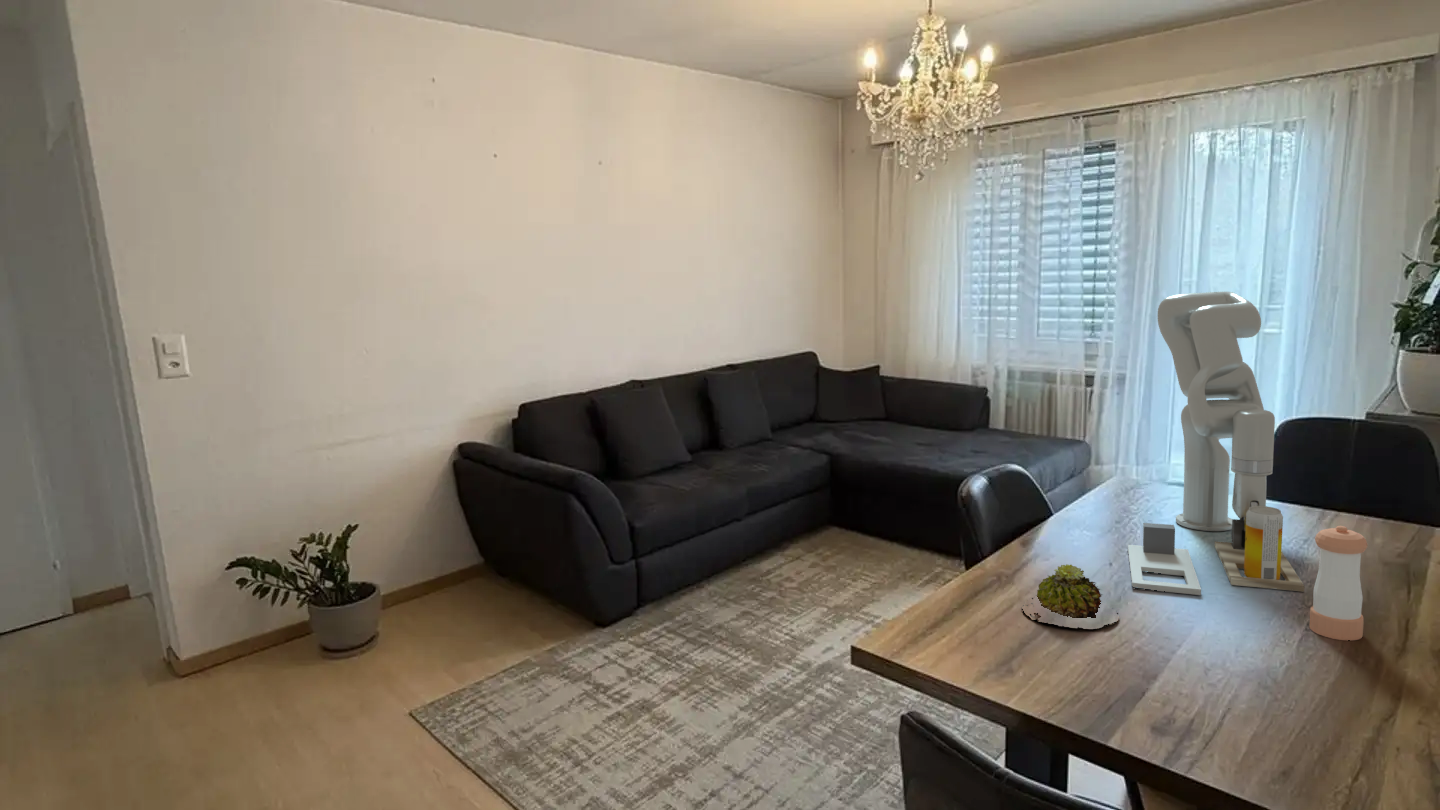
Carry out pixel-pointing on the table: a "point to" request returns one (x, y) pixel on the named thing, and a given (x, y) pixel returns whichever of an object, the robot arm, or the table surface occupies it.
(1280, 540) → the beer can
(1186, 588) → the white board with cutout
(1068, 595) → the cactus
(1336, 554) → the pepper shaker
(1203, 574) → the table surface
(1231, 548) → the wooden board with cutout
